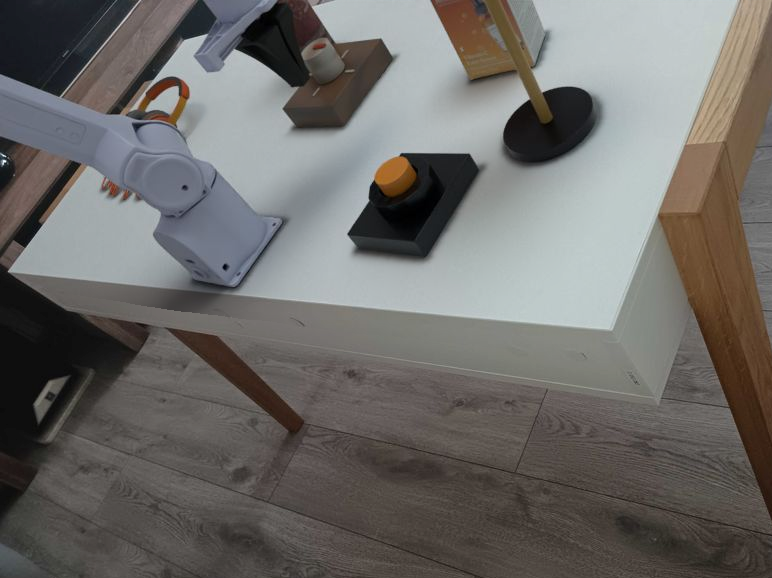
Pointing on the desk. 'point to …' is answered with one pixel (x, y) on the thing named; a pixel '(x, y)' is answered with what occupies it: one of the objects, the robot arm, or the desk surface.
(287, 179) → the desk surface
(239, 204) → the robot arm
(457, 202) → the switch base
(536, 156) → the desk lamp
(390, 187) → the lamp switch
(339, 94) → the dimmer panel
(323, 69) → the dimmer knob
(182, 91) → the headphones
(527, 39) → the small box
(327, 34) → the can
